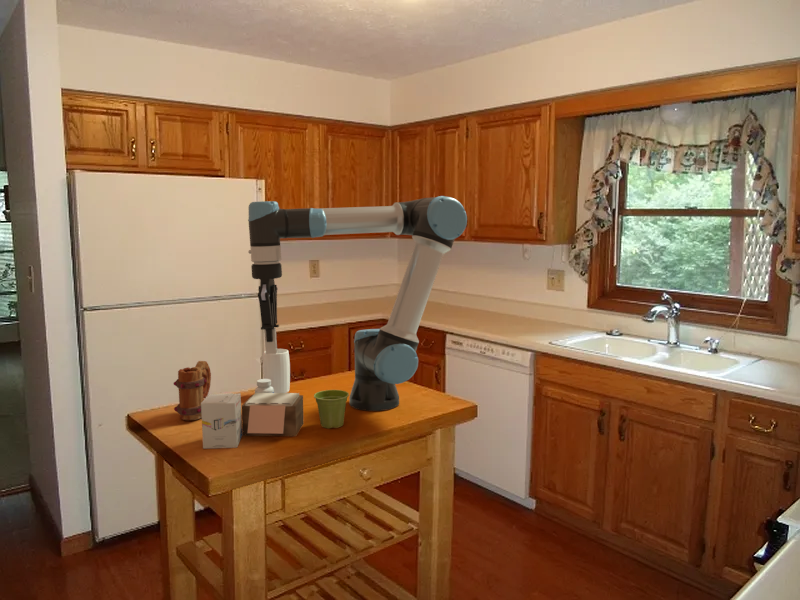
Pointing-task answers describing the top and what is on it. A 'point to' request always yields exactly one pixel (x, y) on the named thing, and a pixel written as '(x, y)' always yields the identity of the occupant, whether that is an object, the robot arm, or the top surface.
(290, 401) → the block
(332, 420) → the plant pot
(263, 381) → the pill bottle
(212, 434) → the ink box
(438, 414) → the top surface
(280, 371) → the cup
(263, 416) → the panel
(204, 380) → the mug
